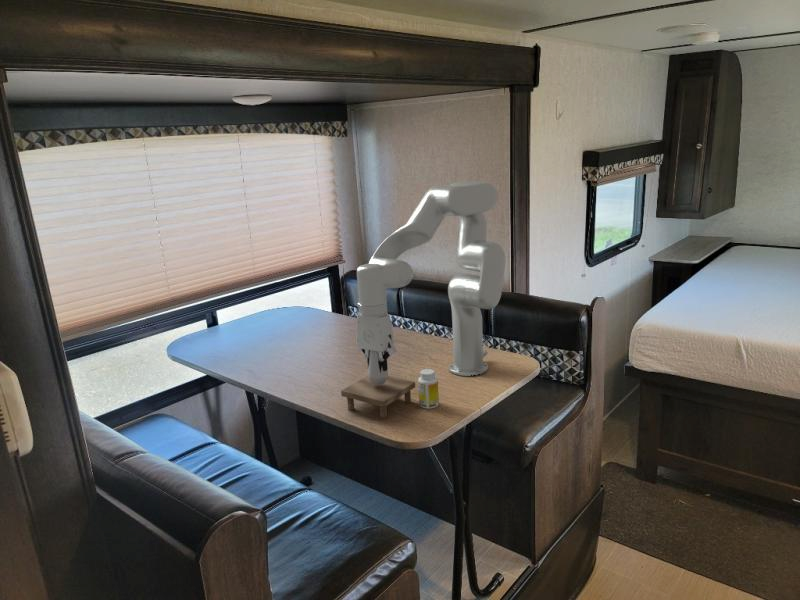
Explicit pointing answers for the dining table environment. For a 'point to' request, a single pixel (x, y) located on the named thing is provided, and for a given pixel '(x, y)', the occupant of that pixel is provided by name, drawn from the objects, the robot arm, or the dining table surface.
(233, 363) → the dining table surface
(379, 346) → the robot arm
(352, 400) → the small wooden table
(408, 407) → the dining table surface
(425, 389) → the supplement bottle
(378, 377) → the salt shaker
